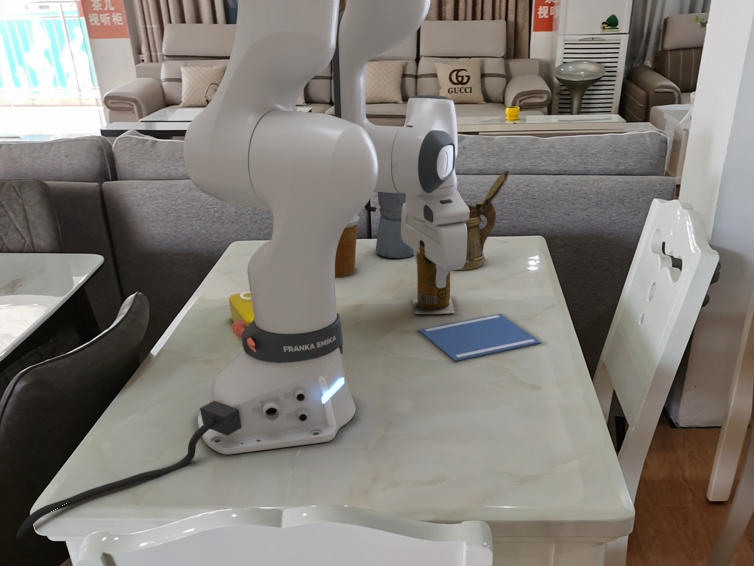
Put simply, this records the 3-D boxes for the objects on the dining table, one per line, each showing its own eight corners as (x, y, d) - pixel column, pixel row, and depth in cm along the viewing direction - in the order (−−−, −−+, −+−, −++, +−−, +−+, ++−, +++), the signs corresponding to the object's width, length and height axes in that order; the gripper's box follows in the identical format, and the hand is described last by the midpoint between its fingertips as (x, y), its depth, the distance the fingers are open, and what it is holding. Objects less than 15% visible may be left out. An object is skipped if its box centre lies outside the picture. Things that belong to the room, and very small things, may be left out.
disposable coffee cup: (321, 264, 166) (316, 205, 159) (365, 265, 165) (362, 205, 158) (311, 279, 159) (306, 218, 151) (357, 280, 157) (354, 218, 150)
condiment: (450, 297, 148) (451, 232, 141) (455, 313, 141) (456, 246, 134) (412, 298, 148) (411, 233, 141) (414, 315, 141) (414, 247, 134)
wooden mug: (506, 269, 160) (512, 175, 149) (441, 271, 161) (441, 177, 150) (502, 256, 167) (507, 165, 156) (440, 257, 168) (440, 167, 157)
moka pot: (429, 259, 167) (429, 158, 155) (358, 261, 167) (352, 160, 155) (429, 246, 174) (429, 148, 162) (360, 247, 175) (355, 150, 163)
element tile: (251, 347, 132) (247, 320, 129) (229, 318, 143) (225, 292, 140) (334, 331, 137) (332, 304, 134) (307, 303, 148) (304, 278, 145)
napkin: (455, 361, 125) (455, 359, 125) (419, 331, 136) (419, 329, 135) (540, 343, 130) (540, 341, 130) (499, 315, 140) (500, 313, 140)
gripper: (391, 190, 141) (393, 266, 149) (439, 217, 126) (439, 301, 134) (422, 185, 143) (423, 261, 151) (474, 212, 127) (472, 295, 136)
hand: (431, 280), depth 142 cm, fingers closed on condiment, 6 cm apart
